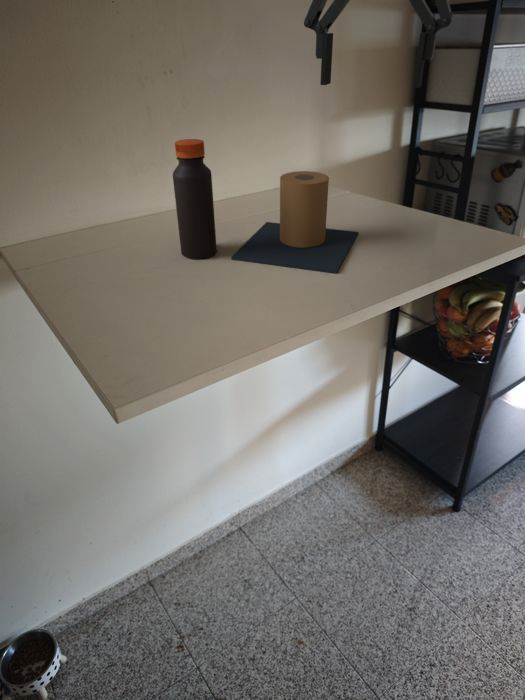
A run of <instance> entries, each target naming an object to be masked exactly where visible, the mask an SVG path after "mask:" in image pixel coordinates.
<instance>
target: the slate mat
mask: <svg viewBox="0 0 525 700" xmlns="http://www.w3.org/2000/svg"><path fill="white" fill-rule="evenodd" d="M358 236H359V231H353V230H345V229H335V228H327V227H326V234H325V241H324V243H322V244H321V245H318V246H314V247H307V248H299V247H292V246H288V245H285V244H283V243H282V242H281V241H280V222H271V221H266V222H265V223H264V224H263V225H262V226H261V227H260V228H258V230H256V232H254V234H253V235H252V236H250V238H249V239H247V241H245V242H244V243H243V245H241V246H240V247H239V249H238V250H237V251H235V252H234V253H233V254H232V255H231V257H230V260H233V261H240V262H247V263H256V264H263V265H270V266H278V267H285V268H290V269H291V268H292V269H298V270H299V269H300V270H308V271H315V272H321V273H329V274H336V275H337V274H338V273H339V271H340V269H341V267H342V265H343V263H344V261H345V260H346V258H347V256H348V254H349V252H350V250H351V249H352V246H353V245H354V243H355V241H356V239H357V238H358Z"/></svg>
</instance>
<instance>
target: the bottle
mask: <svg viewBox="0 0 525 700" xmlns="http://www.w3.org/2000/svg"><path fill="white" fill-rule="evenodd" d="M174 150H175V157H176V160H177V161H178V165H176V167H175V169H174V170H173V171H172V180H173V181H172V182H173V190H174V199H175V200H174V201H175V208H176V210H175V211H176V216H177V217H176V218H177V226H178V227H177V228H178V236H179V245H180V253H181V255H182V256H183V257H185V258H187V259H191V260H204V259H209V258H211V257H213V256H214V255H216V253H217V251H218V249H217V236H216V222H215V221H216V220H215V205H214V192H213V191H214V189H213V178H212V177H213V176H212V170H211V169H210V168H209V166H207V165H206V164H205V163H204V159H205V155H206V154H205V141H204V140H203V139H198V138H185V139H184V138H183V139H179V140H176V141H175V142H174Z"/></svg>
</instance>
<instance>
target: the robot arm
mask: <svg viewBox="0 0 525 700" xmlns="http://www.w3.org/2000/svg"><path fill="white" fill-rule="evenodd" d="M350 1H351V0H333V1H332V2H331V4H330V5H329V7H328V8H327V10H326V11H325V12H324V9H325V6H326V4H327V2H328V0H312V1H311V3H310V6H309V8H308V11H307V14H306V15H305V17H304V21H303V25H304V27H305V28H307V29H309V30H312V31H314V33H315V37H316V38H315V58H316V59H317V60H318V59H319V60H320V61H321V63H320V64H321V66H320V83H319V84H320V86H327V85H330V84H331V82H332V81H331V80H332V64H333V45H334V32H329V31H330V29H331V27H332V25H333V24H335V21H336V20H337V19H338V17H339V16H340V15H341V13H342V12H343V11H344V9H345V8H346V7H347V5H348V4H349V2H350ZM408 1H409V3H410V4H411V6H412V8H413V10H414V11H415V12H416V15H417V16H418V18H419V20H420V21H421V22H422V25H423V26H424V28H425V29H426V32H420V33H419V39H418V47H417V54H416V61H415V67H414V68H415V69H414V76H413V82H412V89H419V88H421V87H422V85H423V84H422V83H423V77H424V70H425V63H426V61H432V60H433V57H434V55H435V48H436V43H437V35H438V33H439V31H440V30H443V29H445V28H448V27H450V26H452V24H453V23H454V17H453V13H452V9H451V4H450V0H434V1H435V4H436V5H435V6H436V8H437V12H438V15H439V18H437V19H436V17H435V15H434V14H433V12H432V11H431V9H430V7H429V6H428V4H427V2H426V0H408ZM323 12H324V14H323V15H322V13H323Z"/></svg>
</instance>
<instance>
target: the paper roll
mask: <svg viewBox="0 0 525 700" xmlns="http://www.w3.org/2000/svg"><path fill="white" fill-rule="evenodd" d="M329 178H330V177H329V176H328V175H327V174H325V173H322V172H318V171H311V170H310V171H309V170H301V171H300V170H299V171H291V172H286V173H283V174H281V176H280V177H279V223H280V241H281V242H282V243H283V244H285V245H288V246H292V247H299V248H307V247H314V246H318V245H321V244H322V243H324V241H325V234H326V228H327V217H328V216H327V215H328V214H327V213H328V199H329V181H330V179H329Z"/></svg>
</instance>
